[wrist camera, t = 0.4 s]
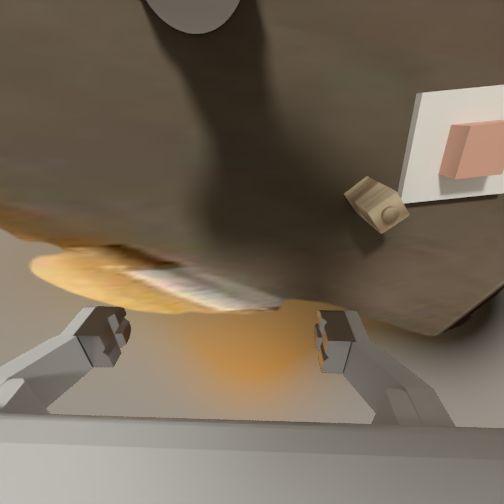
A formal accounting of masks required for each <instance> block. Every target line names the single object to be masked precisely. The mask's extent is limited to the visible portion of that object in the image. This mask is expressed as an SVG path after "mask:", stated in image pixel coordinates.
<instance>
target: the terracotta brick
mask: <svg viewBox="0 0 504 504" xmlns="http://www.w3.org/2000/svg"><path fill="white" fill-rule="evenodd" d="M503 170H504V120H493V121H483V122H473V123H463V124H453V125H451V127H450V131H449V135H448V139H447V143H446V147H445V150H444V154H443V158H442V162H441V166H440V170H439V173H438V174H440V175H443V176H446V177H450V178H453V179H462V178H472V177H481V176H491V175H501V174H502V173H503Z"/></svg>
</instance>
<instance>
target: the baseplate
mask: <svg viewBox="0 0 504 504" xmlns="http://www.w3.org/2000/svg"><path fill="white" fill-rule="evenodd" d="M493 120H504V85H496V86H486V87H476V88H466V89H456V90H446V91H435V92H425V93H417V94H416V99H415V104H414V109H413V115H412V120H411V125H410V130H409V135H408V141H407V146H406V151H405V156H404V161H403V167H402V172H401V177H400V182H399V187H398V195H399V196H400V198H401V200H402V202H403V204H404V203H414V202H424V201H433V200H443V199H452V198H462V197H472V196H481V195H491V194H501V193H504V170H503V173H502V174H501V175H491V176H481V177H472V178H462V179H453V178H450V177H446V176H443V175H440V174H438V173H439V170H440V166H441V162H442V158H443V154H444V150H445V147H446V143H447V139H448V135H449V131H450V127H451V125H453V124H463V123H473V122H483V121H493Z"/></svg>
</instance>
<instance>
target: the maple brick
mask: <svg viewBox="0 0 504 504" xmlns="http://www.w3.org/2000/svg"><path fill="white" fill-rule="evenodd" d="M344 195H345V197H346V198H347V200H348V201H349V203H350V204H351V206H352V207H353V209H354V210H355V212H356V213H357V214H358V215H360V216H361V217H362V218H363V219H364V220H365V221H367V222H368V223H369V224H370V225H371V226H372V227H374V228H375V229H376V230H377V231H378V232H379V233H381V234H382V233H384V232H385V231H387V230H388V229H390V228H391V227H393V226H394V225H396V224H397V223H399V222H400V221H402V220H403V219H405V218H406V217H408V216H409V215H410V214H409V213H408V211H407V209H406V207H405V205H404V204H403V202H402V200H401V198H400V196H399V195H398V193H397V191H395V190H393V189H391V188H389V187H387V186H385V185H383V184H381V183H379V182H377V181H375V180H373V179H371V178H369V177H365V178H364V179H363V180H361V181H360V182H359V183H357V184H356V185H355V186H353V187H352V188H351V189H349V190H348V191H346V192H345V193H344Z"/></svg>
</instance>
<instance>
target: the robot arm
mask: <svg viewBox="0 0 504 504" xmlns="http://www.w3.org/2000/svg"><path fill="white" fill-rule="evenodd" d="M146 1H147V3H148V4H149V5H150V7H151V8H152V9H153V11H154V12H155V13H156V14H157V15H158V16H159V17H160V18H161V19H162V20H163V21H164V22H166V23H167V24H168V25H170V26H172V27H173V28H175V29H177V30H180V31H182V32H186V33H191V34H202V33H207V32H210V31H212V30H215V29H216V28H218V27H220V26H221V25H222V24H224V23H225V22H226V21H227V20H228V19H229V18H230V16H231V15H232V14H233V12H234V11H235V9H236V7H237V6H238V4H239V1H240V0H146ZM125 316H126V312H125V309H124V308H122V307H104V306H98V307H97V306H86V307H84V308H83V309H82V310H81V311H80V312H79V313H78V314H77V316H76V317H75V318H74V319H73V320H72V321H71V323H70V324H69V325H68V326H67V327H66V329H65V330H64V331H63V332H62V333H61V334H60V335H59V336H54V337H53V338H51V339H49V340H47V341H45V342H44V343H42V344H40V345H38V346H37V347H35V348H33V349H31V350H29V351H28V352H26V353H24V354H22V355H20V356H19V357H17V358H15V359H13V360H12V361H10V362H8V363H6V364H4V365H3V366H1V367H0V504H504V428H476V427H456V426H455V425H454V423H453V421H452V420H451V418H450V416H449V414H448V413H447V411H446V409H445V408H444V406H443V404H442V403H441V401H440V399H439V397H438V396H437V394H436V392H435V390H434V389H433V388H432V387H431V386H429V385H428V384H427V383H425V382H424V381H423V380H422V379H420V378H419V377H418V376H417V375H415V374H414V373H413V372H411V371H410V370H409V369H408V368H406V367H405V366H404V365H403V364H401V363H400V362H399V361H398V360H396V359H395V358H394V357H392V356H391V355H390V354H389V353H387V352H386V351H385V350H383V349H382V348H381V347H380V346H378V345H377V344H376V343H371V342H370V339H369V337H368V335H367V333H366V331H365V328H364V327H363V324H362V322H361V320H360V317H359V315H358V313H357V312H356V311H326V310H325V311H323V310H319V311H318V312H317V321H318V323H317V324H316V325H315V331H314V338H315V345H316V348H317V349H318V350H319V356H318V359H319V364H320V368H321V372H322V373H342V374H344V376H345V377H346V378H347V380H348V381H349V382H350V383H351V384H352V386H353V387H354V388H355V389H356V390H357V392H358V393H359V394H360V395H361V396H362V397H363V398H364V400H365V401H366V402H367V403H368V404H369V406H370V407H371V408H372V409H373V410H374V412H375V413H376V415H375V417H374V419H373V421H372V424H350V423H316V422H284V421H253V420H252V421H251V420H220V419H188V418H155V417H123V416H122V417H121V416H91V415H59V414H50V413H49V411H48V410H47V409H46V408H47V407H48V406H49V405H50V404H51V403H53V402H54V401H55V400H56V399H57V398H58V397H60V396H61V395H62V394H63V393H64V392H66V391H67V390H68V389H69V388H70V387H71V386H73V385H74V384H75V383H76V382H77V381H79V380H80V379H81V378H82V377H83V376H84V375H85V374H87V373H88V372H89V371H90V370H91V369H92V367H114V365H115V364H116V362H117V360H118V358H119V356H120V355H121V350H120V348H121V347H123V346H124V345H126V344H127V342H128V340H129V337H130V333H131V326H130V323H129V321H128V320H126V319H125V318H124V317H125Z"/></svg>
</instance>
